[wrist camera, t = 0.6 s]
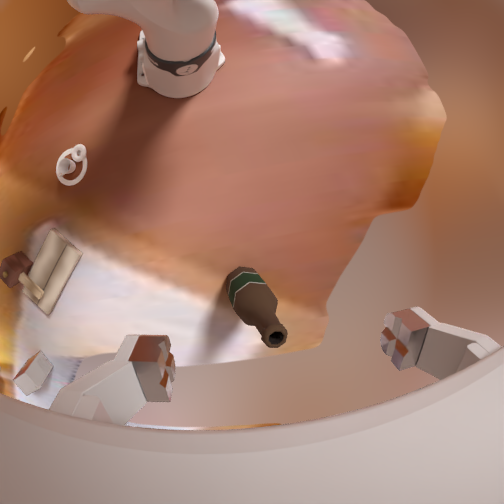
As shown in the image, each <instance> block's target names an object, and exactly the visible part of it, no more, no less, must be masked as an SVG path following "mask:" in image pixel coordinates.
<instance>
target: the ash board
mask: <svg viewBox="0 0 504 504" xmlns="http://www.w3.org/2000/svg"><path fill="white" fill-rule="evenodd" d="M82 254H83V253H82V252H80V251H79V250H78V249H77V248H76V247H75V246H74V245H72V244H71V243H70V242H69V241H68V240H67V239H66V238H65V237H64V236H63V235H61V234H60V233H59V232H58V231H57V230H56V229H55V228H53V229H50V231H49V233H48V235H47V237H46V239H45V241H44V243H43V245H42V247H41V249H40V251H39V253H38V255H37V257H36V259H35V262H34V264H33V266H32V268H31V271H30V273H29V275H28V277H29V278H30V279H31V280H32V281H33V282H34V283H36V284H37V285H38V286H39V287H40V288H41V289H44V294H43V296H42V297H41V298H40V299H38V298H37V297H36V296H35V295H34V294H33V293H31V292H30V291H29V290H28V289H27V288H26V287H25V286H24V288H23V290H22V291H23V292H24V293H25V294H26V295H27V296H28V297H29V298H30V299H31V300H32V301H33V302H34V303H35V304H36V305H37V306H38V307H39V308H41V309H42V310H43V311H44V312H45V313H46V314H47V315H49V314H50V313H51V312H52V310H53V308H54V306H55V304H56V302H57V300H58V298H59V296H60V294H61V292H62V290H63V288H64V286H65V284H66V282H67V280H68V279H69V277H70V275H71V273H72V271H73V270H74V268H75V266H76V264H77V263H78V261H79V259H80V257H81V256H82Z"/></svg>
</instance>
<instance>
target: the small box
mask: <svg viewBox="0 0 504 504" xmlns="http://www.w3.org/2000/svg"><path fill="white" fill-rule="evenodd" d="M52 368H53V365H52V364H51V363H50V361H49V360H48V359H47V358H46V357H45V355H44V354H43V353H42V352H41V351H39V352H38V353H37V354H36V355H34V356H33V357H31V358H30V359H28V360H27V362H26V363H25V364H24V366H23V367H22V368H21V370H20V371H19V372H18V374H17V375H16V377H15V378H14V379H13V381H14V382H15V384H16V385H17V386H18V387H19V388H20V389H21V390H22V392H23V393H24V394H25V395H26V396H28V395H29V394H31V393H33V392H35V391H36V390H39V389H40V388H41V386H42V384H43V383H44V381H45V379H46V378H47V376H48V374H49V373H50V371H51V369H52Z"/></svg>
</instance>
